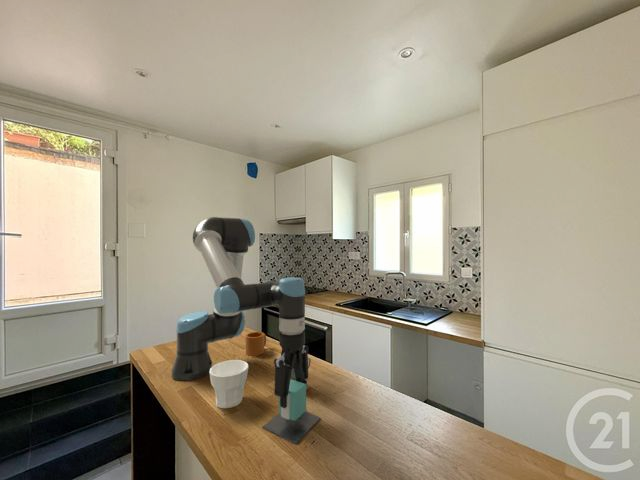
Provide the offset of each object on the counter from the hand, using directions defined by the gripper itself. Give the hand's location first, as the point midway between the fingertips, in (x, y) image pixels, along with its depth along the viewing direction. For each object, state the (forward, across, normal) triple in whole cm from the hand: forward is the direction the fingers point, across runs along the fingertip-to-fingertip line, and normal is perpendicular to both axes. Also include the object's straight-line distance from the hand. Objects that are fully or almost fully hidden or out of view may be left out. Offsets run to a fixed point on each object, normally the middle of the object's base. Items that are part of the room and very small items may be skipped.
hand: (292, 411), depth 77 cm
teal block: (0, 0, 0) cm, 0 cm away
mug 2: (+4, +17, +10) cm, 20 cm away
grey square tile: (+4, 0, 0) cm, 4 cm away
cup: (+4, -2, +25) cm, 26 cm away
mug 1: (+3, +33, +47) cm, 58 cm away
